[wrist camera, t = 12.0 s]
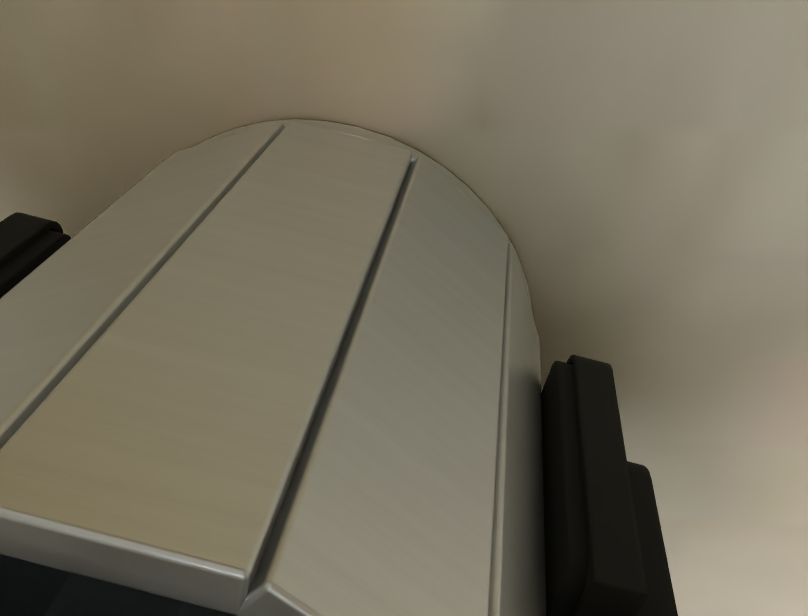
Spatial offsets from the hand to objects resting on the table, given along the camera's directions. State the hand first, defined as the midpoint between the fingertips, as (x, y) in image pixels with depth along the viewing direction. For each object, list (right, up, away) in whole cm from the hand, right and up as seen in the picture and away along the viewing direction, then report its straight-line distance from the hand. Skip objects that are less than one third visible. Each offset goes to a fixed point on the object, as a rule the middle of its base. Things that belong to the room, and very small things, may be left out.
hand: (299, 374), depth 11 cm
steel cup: (0, +1, +1) cm, 1 cm away
